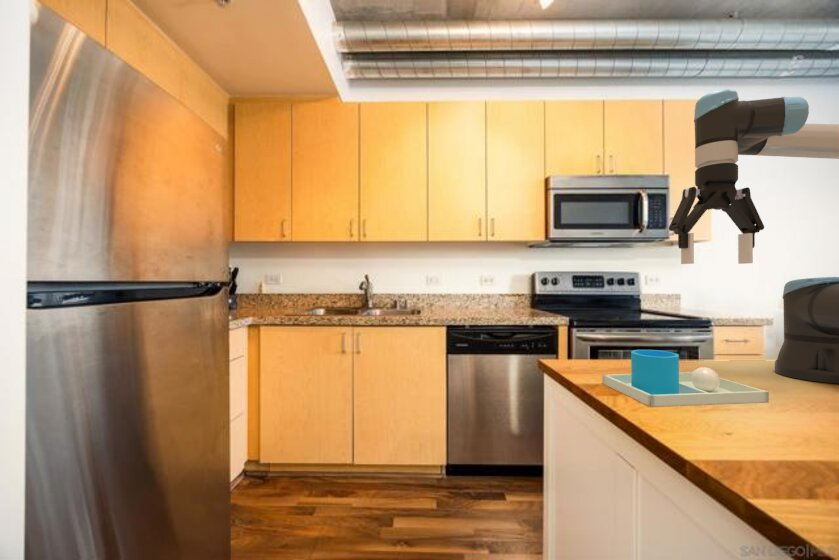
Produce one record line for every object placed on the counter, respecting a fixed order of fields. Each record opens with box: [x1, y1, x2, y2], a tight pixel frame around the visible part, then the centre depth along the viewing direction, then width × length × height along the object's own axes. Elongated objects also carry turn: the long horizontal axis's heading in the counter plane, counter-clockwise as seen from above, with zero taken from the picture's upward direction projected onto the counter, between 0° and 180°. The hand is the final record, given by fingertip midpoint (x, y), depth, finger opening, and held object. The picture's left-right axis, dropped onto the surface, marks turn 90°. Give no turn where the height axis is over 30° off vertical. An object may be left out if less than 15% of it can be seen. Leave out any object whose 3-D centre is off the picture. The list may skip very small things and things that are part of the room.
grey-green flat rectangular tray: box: [601, 371, 770, 408], centre depth 80 cm, size 23×16×2 cm
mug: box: [630, 349, 680, 395], centre depth 80 cm, size 12×8×8 cm
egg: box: [691, 366, 720, 391], centre depth 80 cm, size 5×5×5 cm
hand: (716, 263), depth 86 cm, fingers open, 13 cm apart
